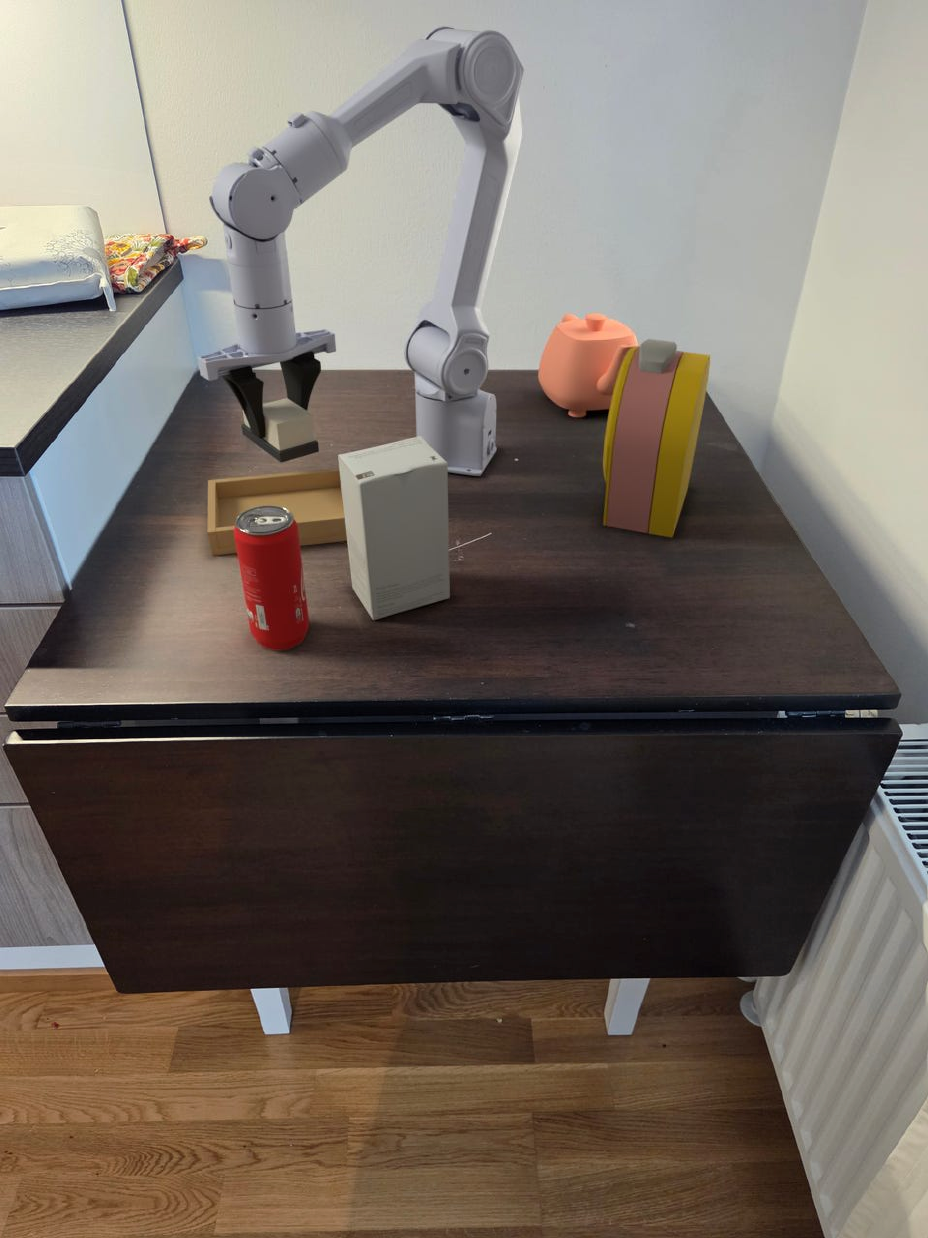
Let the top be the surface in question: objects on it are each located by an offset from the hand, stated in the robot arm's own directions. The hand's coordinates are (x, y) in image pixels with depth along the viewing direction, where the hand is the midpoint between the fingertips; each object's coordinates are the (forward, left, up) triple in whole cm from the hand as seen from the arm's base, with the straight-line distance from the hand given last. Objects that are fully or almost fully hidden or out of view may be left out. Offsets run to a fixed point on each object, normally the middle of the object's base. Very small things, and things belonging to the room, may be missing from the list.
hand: (279, 429), depth 94 cm
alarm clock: (-39, -11, -9) cm, 41 cm away
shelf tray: (-2, +4, -8) cm, 10 cm away
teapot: (-28, -38, -9) cm, 47 cm away
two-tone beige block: (0, 0, -2) cm, 2 cm away
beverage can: (-11, +23, -9) cm, 27 cm away
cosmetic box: (-19, +14, -9) cm, 25 cm away
